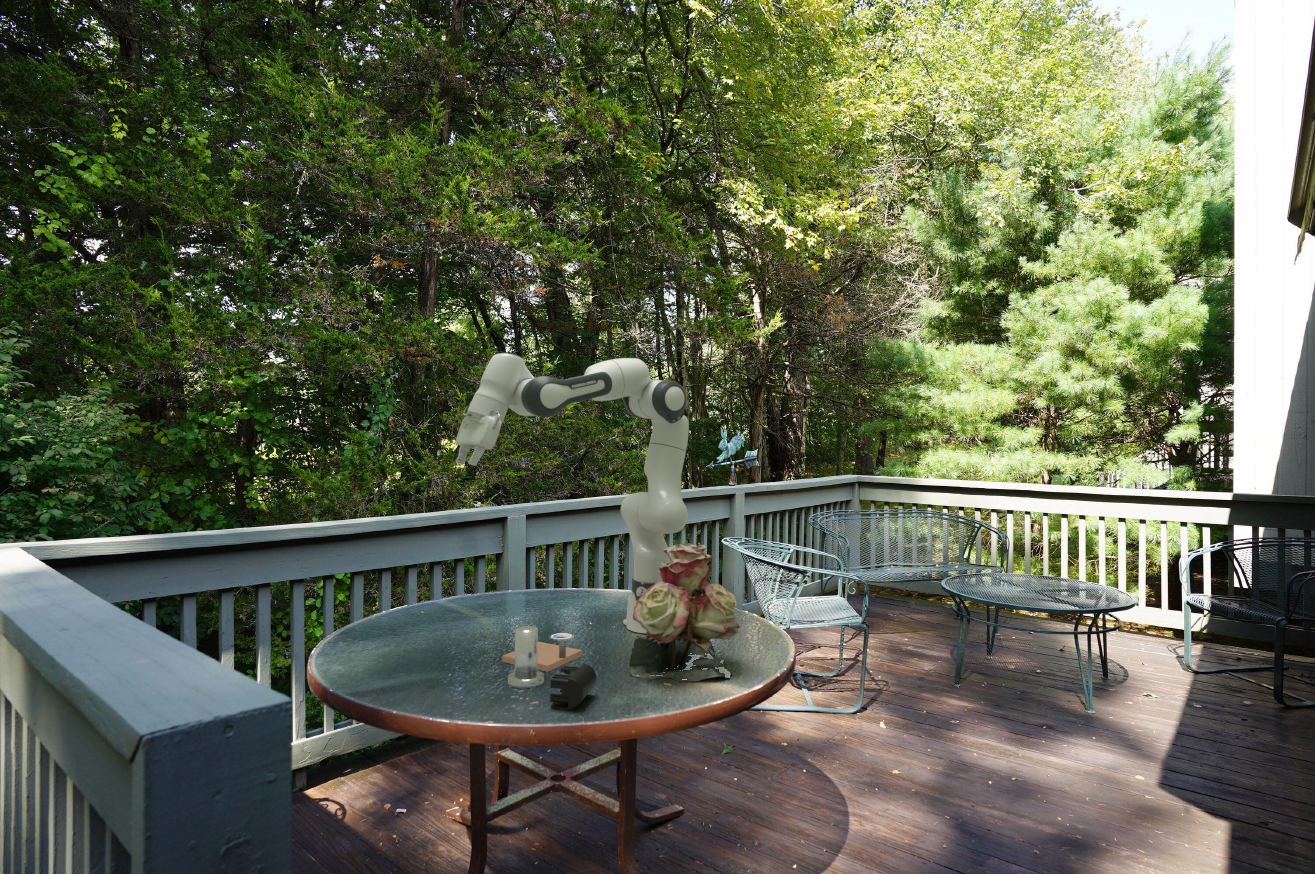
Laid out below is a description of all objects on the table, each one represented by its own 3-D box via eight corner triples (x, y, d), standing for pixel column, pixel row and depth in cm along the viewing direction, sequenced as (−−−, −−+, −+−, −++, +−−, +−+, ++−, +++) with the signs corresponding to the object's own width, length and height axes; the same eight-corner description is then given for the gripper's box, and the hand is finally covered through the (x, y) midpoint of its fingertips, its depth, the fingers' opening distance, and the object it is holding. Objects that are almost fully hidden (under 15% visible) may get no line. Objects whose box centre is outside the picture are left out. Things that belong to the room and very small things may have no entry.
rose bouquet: (624, 684, 161) (626, 551, 161) (642, 645, 190) (644, 533, 190) (739, 690, 158) (741, 555, 158) (739, 650, 187) (741, 536, 187)
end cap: (582, 712, 144) (582, 679, 144) (549, 709, 145) (549, 676, 145) (596, 695, 154) (597, 663, 154) (565, 692, 155) (565, 661, 155)
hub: (523, 673, 166) (524, 622, 166) (551, 680, 162) (551, 627, 162) (500, 684, 159) (501, 630, 159) (528, 691, 155) (529, 636, 155)
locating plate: (538, 647, 187) (538, 630, 187) (582, 655, 180) (582, 638, 180) (502, 661, 175) (502, 643, 175) (547, 671, 168) (548, 652, 168)
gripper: (513, 416, 170) (491, 470, 168) (485, 418, 188) (465, 467, 185) (489, 405, 167) (467, 460, 164) (463, 408, 185) (442, 458, 182)
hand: (465, 464), depth 175 cm, fingers open, 8 cm apart
